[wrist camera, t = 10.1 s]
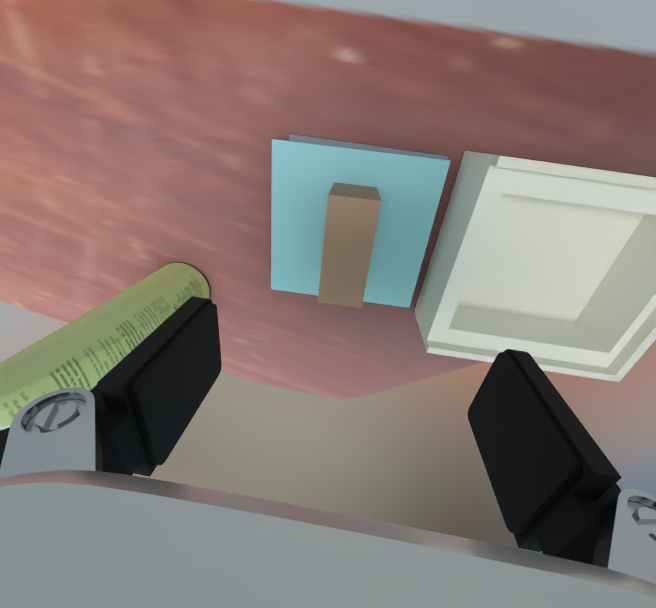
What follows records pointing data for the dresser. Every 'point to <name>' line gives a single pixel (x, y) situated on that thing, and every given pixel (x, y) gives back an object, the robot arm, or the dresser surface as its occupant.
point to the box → (544, 267)
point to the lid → (351, 221)
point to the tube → (96, 339)
